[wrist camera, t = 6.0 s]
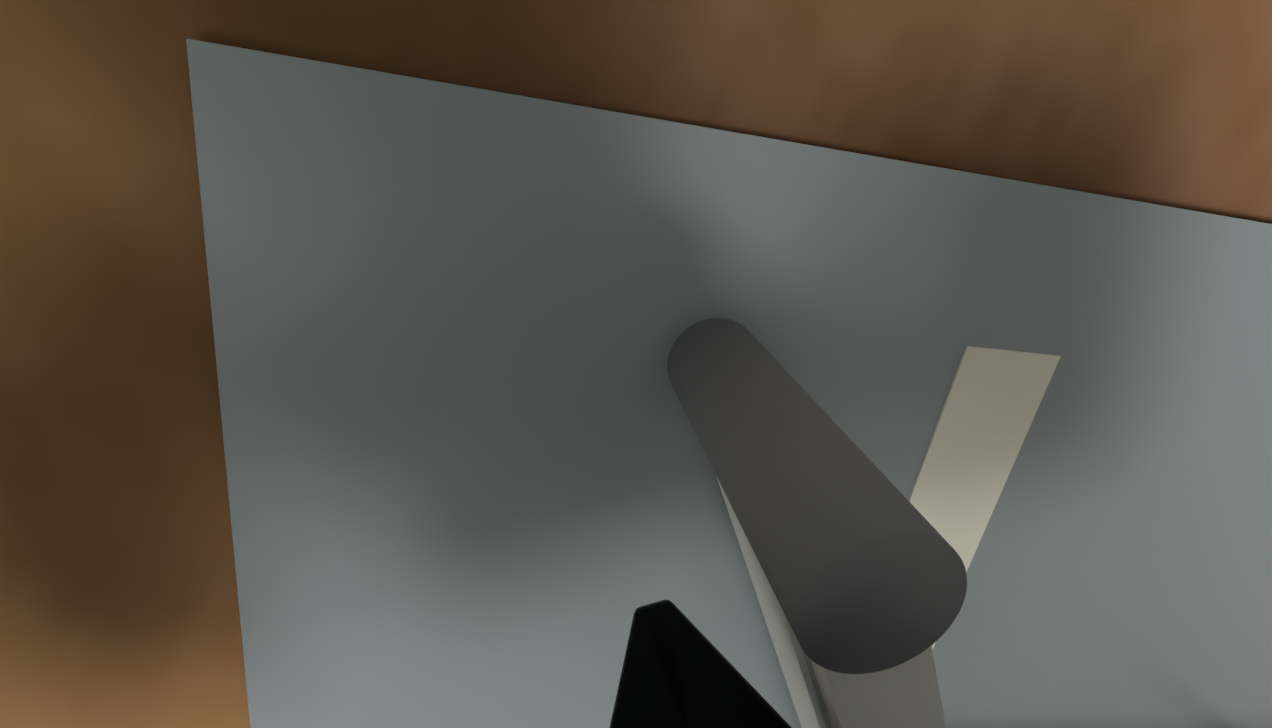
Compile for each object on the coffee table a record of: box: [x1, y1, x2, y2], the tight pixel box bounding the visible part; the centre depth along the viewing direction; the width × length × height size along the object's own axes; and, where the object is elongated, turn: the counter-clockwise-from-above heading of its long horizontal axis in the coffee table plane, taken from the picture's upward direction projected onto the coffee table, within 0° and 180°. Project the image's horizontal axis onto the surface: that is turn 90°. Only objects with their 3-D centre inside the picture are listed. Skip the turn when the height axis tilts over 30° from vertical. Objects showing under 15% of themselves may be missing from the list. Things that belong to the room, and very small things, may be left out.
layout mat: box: [186, 38, 1272, 728], centre depth 12 cm, size 24×16×1 cm, turn 81°
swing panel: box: [667, 318, 967, 728], centre depth 9 cm, size 10×1×5 cm, turn 19°
